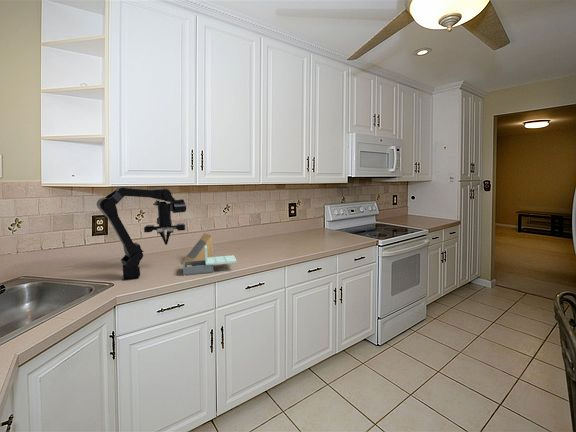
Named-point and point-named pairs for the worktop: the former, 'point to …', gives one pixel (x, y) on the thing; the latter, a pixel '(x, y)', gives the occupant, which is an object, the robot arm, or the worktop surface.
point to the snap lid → (219, 259)
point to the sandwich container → (200, 249)
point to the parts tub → (196, 267)
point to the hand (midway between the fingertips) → (166, 244)
